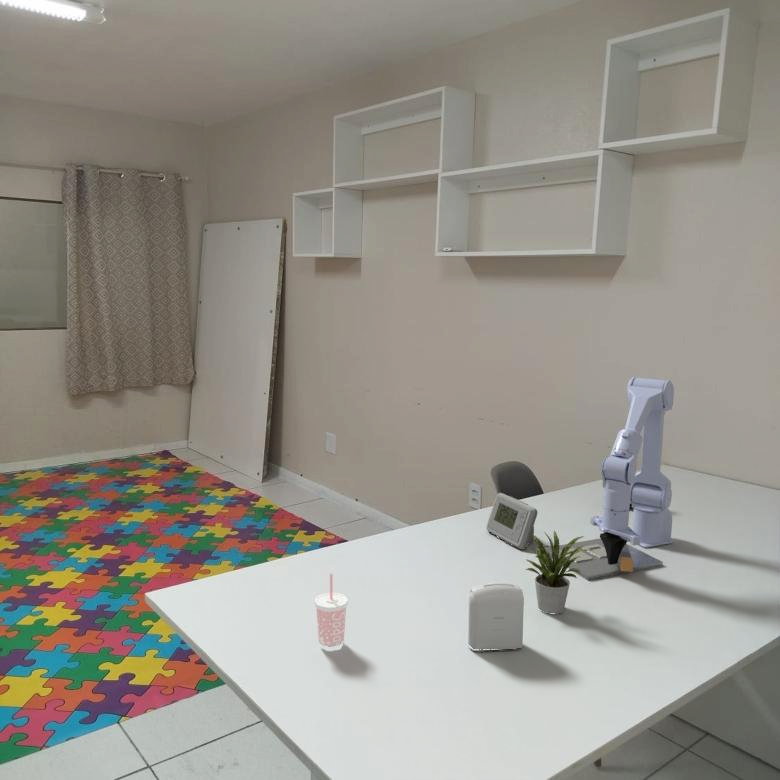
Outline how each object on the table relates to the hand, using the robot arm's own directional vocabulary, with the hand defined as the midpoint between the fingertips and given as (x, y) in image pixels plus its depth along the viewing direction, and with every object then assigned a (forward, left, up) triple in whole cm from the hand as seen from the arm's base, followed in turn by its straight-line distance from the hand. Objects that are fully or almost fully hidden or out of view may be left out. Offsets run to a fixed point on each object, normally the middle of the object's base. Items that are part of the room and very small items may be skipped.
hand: (612, 563), depth 165 cm
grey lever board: (-3, -8, -2) cm, 9 cm away
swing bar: (-5, -2, 0) cm, 5 cm away
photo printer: (+43, +18, -2) cm, 47 cm away
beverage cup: (+71, +6, -2) cm, 71 cm away
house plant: (+23, +10, -2) cm, 25 cm away
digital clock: (+10, -27, -2) cm, 29 cm away
